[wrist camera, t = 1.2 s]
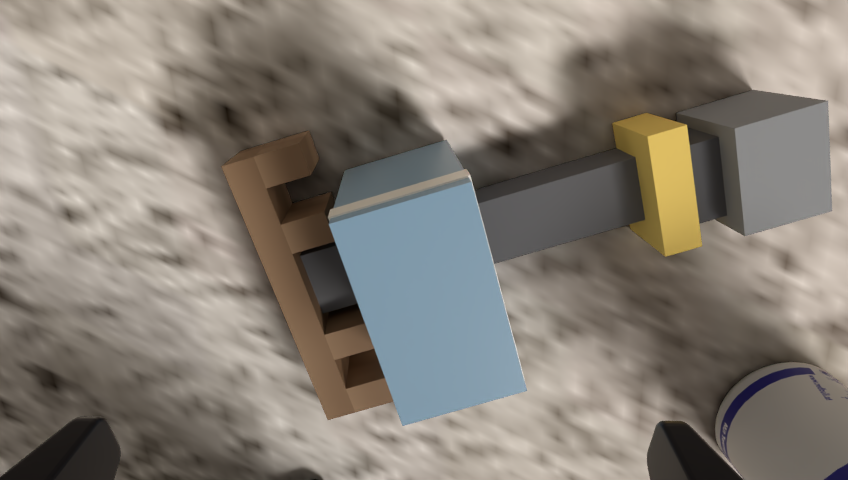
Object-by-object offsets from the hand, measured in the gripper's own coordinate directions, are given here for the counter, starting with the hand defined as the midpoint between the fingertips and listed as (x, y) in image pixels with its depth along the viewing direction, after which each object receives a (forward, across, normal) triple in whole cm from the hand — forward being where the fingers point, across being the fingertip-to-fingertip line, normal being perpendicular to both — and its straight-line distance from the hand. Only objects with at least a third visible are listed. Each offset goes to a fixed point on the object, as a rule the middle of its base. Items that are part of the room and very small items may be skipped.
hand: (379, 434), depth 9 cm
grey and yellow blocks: (+12, -4, +2) cm, 13 cm away
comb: (+11, +3, +4) cm, 12 cm away
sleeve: (+11, 0, +4) cm, 12 cm away
